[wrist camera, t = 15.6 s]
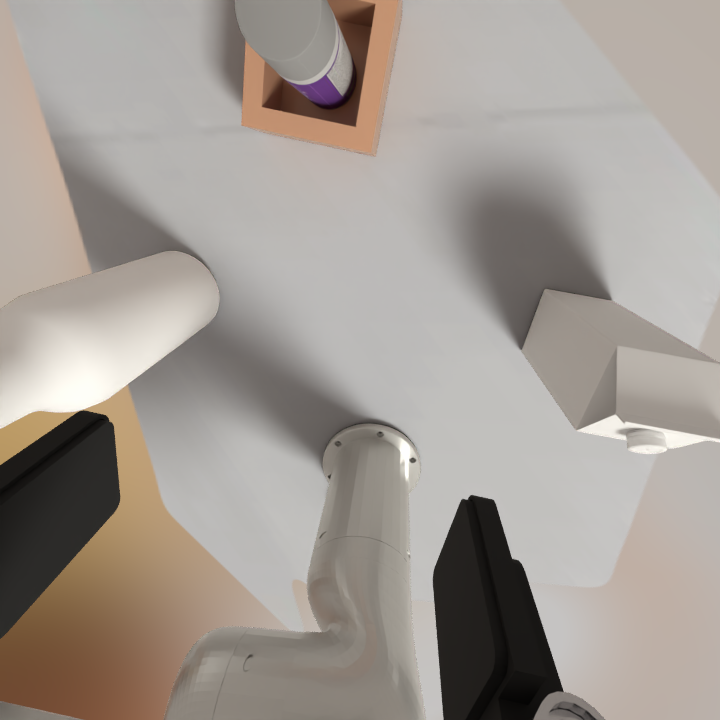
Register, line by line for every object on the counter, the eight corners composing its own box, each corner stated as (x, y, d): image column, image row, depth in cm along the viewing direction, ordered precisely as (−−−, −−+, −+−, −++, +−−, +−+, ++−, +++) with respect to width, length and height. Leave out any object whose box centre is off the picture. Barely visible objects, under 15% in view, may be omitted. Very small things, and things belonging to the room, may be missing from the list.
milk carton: (543, 287, 39) (652, 372, 22) (613, 300, 39) (777, 394, 22) (520, 351, 42) (599, 467, 25) (585, 363, 42) (709, 488, 25)
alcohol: (216, 249, 41) (-145, 387, 14) (228, 328, 45) (-38, 557, 18) (137, 248, 42) (-348, 376, 15) (155, 325, 46) (-206, 541, 18)
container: (297, 100, 34) (225, 48, 20) (308, 34, 32) (238, -72, 18) (348, 117, 34) (312, 76, 20) (363, 52, 32) (334, -41, 18)
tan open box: (375, 156, 36) (370, 152, 30) (265, 133, 36) (241, 125, 31) (402, 13, 31) (402, -21, 26) (276, -13, 31) (250, -53, 26)
